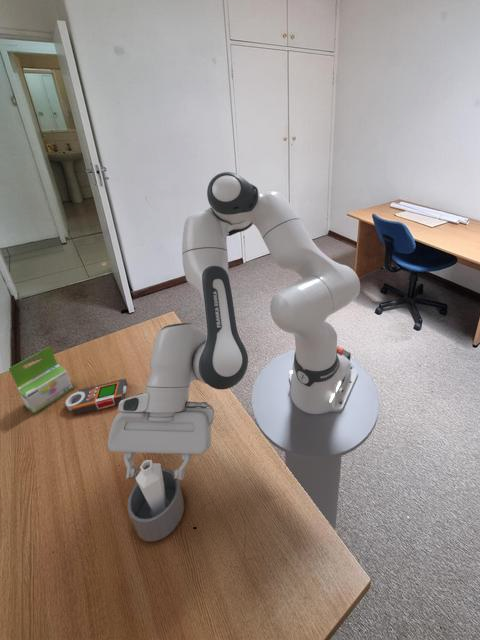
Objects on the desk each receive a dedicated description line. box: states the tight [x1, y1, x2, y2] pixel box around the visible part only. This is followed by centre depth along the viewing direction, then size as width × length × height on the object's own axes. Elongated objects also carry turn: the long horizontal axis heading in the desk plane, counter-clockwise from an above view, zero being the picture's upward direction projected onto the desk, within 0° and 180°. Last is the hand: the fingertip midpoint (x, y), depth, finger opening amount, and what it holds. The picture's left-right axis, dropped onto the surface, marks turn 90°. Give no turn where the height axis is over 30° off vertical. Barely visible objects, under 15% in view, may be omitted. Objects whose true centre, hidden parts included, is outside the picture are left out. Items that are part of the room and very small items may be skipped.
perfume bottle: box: [135, 459, 169, 517], centre depth 64 cm, size 5×4×15 cm
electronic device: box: [64, 378, 128, 416], centre depth 92 cm, size 7×3×15 cm
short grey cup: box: [127, 468, 185, 542], centre depth 66 cm, size 9×9×7 cm
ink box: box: [8, 345, 74, 415], centre depth 90 cm, size 10×5×14 cm, turn 148°
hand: (155, 478), depth 64 cm, fingers open, 8 cm apart
